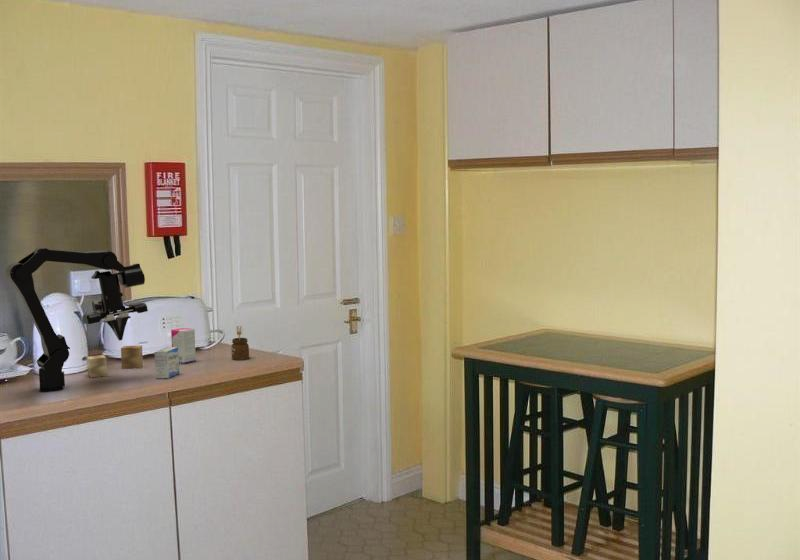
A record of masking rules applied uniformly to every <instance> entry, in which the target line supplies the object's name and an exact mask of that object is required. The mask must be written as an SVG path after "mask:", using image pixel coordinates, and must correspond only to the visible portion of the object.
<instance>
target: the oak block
mask: <svg viewBox="0 0 800 560" xmlns="http://www.w3.org/2000/svg"><path fill="white" fill-rule="evenodd" d="M143 358H144V357H143V345H123V346H122V347H120V359H121V369H122V370H125V369H126V370H127V369H128V370H130V369H133V370H134V368H136V369H142V368H143V367H144V364H143V363H144V359H143Z"/></svg>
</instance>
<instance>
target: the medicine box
mask: <svg viewBox="0 0 800 560" xmlns="http://www.w3.org/2000/svg"><path fill="white" fill-rule="evenodd" d="M154 369H155V379H164V378H169V379H171V378H173V377H175V376H177V375H179V374H180V364H179V353H178V347H172V346H166V347H164V348H162V349H159V350H156V351H154ZM172 376H173V377H172ZM170 377H171V378H170Z"/></svg>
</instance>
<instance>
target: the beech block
mask: <svg viewBox="0 0 800 560" xmlns="http://www.w3.org/2000/svg"><path fill="white" fill-rule="evenodd" d="M86 359H87V360H86V361H87V362H86V363H87V376H88V377H89V376H90V377H91V378H90V377H89V378H90V379H93V378H92V377H94V378H101V376H103V377H108V365H107V357H106V356H105V355H104V354H101V355H90V356H87V357H86Z"/></svg>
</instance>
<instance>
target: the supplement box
mask: <svg viewBox="0 0 800 560" xmlns="http://www.w3.org/2000/svg"><path fill="white" fill-rule="evenodd" d="M195 331H196V330H195V328H187V327H186V328H185V327H182V328H176V329H175V328H174V329H171V331H170V332H171V333H170V334H171V347H178V353H179V363H181V364H180V365H186V364H185V363H187V364H190V362H191V363H195V362H197V361H196V359H197V358H196V357H197V356H196V335H195V334H196V332H195Z"/></svg>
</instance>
